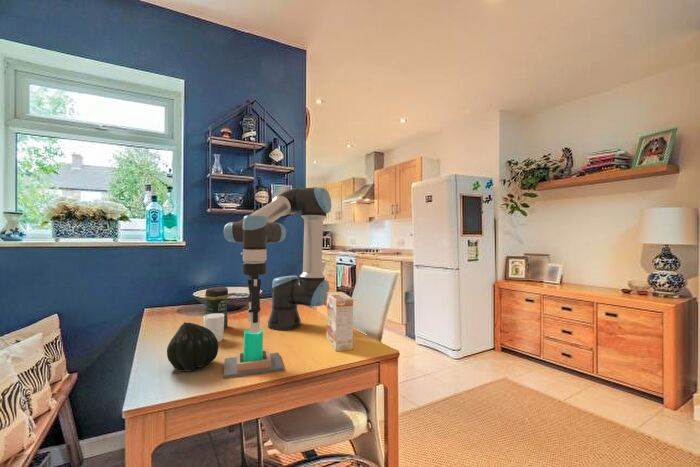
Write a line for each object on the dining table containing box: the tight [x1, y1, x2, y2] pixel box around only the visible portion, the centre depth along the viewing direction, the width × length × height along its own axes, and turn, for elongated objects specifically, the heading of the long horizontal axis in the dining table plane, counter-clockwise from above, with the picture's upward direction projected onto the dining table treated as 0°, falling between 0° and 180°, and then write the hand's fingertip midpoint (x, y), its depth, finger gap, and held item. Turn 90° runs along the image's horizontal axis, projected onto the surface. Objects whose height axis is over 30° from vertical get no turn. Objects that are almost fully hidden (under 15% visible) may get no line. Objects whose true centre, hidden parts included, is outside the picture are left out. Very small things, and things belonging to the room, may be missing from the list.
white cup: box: [203, 313, 225, 343], centre depth 133 cm, size 8×8×10 cm
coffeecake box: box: [325, 291, 354, 352], centre depth 130 cm, size 15×7×20 cm, turn 18°
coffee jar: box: [204, 286, 229, 329], centre depth 150 cm, size 10×8×19 cm
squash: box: [166, 321, 219, 372], centre depth 107 cm, size 14×15×15 cm
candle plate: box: [222, 348, 285, 379], centre depth 108 cm, size 18×14×3 cm
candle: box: [243, 328, 264, 362], centre depth 108 cm, size 6×6×12 cm
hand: (253, 326), depth 108 cm, fingers open, 13 cm apart
